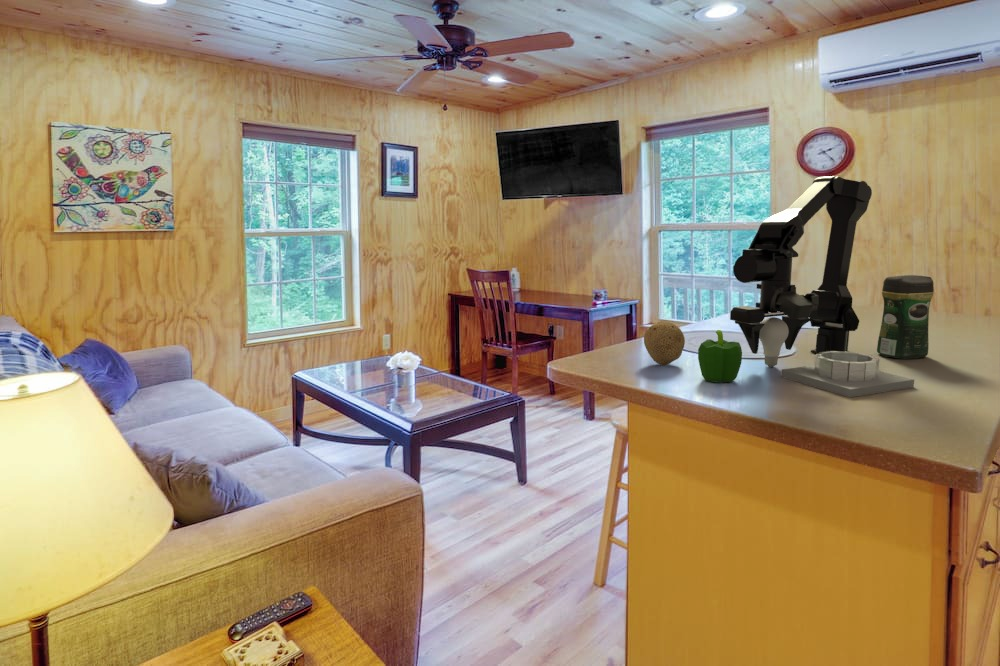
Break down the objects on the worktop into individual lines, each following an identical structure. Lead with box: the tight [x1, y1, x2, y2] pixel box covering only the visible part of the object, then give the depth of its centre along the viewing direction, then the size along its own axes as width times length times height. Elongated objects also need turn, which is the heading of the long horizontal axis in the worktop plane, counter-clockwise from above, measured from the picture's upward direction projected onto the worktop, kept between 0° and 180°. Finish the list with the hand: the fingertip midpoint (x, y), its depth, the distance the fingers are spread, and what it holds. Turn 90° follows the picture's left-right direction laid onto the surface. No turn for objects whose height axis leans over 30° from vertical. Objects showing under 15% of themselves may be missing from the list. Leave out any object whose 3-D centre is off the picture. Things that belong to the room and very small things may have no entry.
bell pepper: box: [697, 329, 743, 383], centre depth 119 cm, size 8×8×10 cm
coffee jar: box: [876, 274, 935, 360], centre depth 135 cm, size 10×8×19 cm
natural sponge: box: [643, 320, 686, 366], centre depth 133 cm, size 9×9×10 cm
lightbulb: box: [759, 316, 789, 368], centre depth 128 cm, size 6×6×11 cm
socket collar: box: [814, 351, 880, 382], centre depth 116 cm, size 10×10×4 cm
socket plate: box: [780, 364, 915, 398], centre depth 116 cm, size 16×16×2 cm
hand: (771, 351), depth 129 cm, fingers open, 9 cm apart
